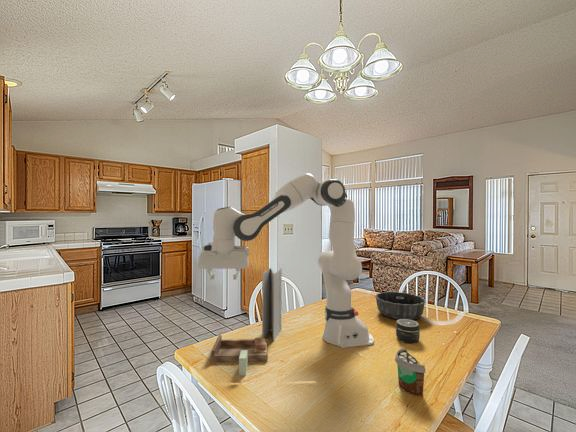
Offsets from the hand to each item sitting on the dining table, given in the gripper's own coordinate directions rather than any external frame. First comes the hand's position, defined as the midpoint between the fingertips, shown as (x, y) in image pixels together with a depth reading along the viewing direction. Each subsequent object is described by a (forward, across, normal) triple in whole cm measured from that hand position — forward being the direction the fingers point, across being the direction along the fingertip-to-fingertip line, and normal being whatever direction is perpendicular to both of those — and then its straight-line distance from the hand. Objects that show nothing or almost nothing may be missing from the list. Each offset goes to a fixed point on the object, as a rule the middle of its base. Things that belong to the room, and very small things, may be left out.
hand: (223, 279), depth 120 cm
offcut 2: (+28, -16, +5) cm, 33 cm away
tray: (+29, -8, +5) cm, 31 cm away
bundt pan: (+29, -91, -37) cm, 103 cm away
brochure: (+29, -20, -13) cm, 38 cm away
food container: (+29, -64, +29) cm, 76 cm away
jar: (+29, -81, -6) cm, 86 cm away
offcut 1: (+26, -15, +4) cm, 31 cm away
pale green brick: (+29, -10, +18) cm, 36 cm away
